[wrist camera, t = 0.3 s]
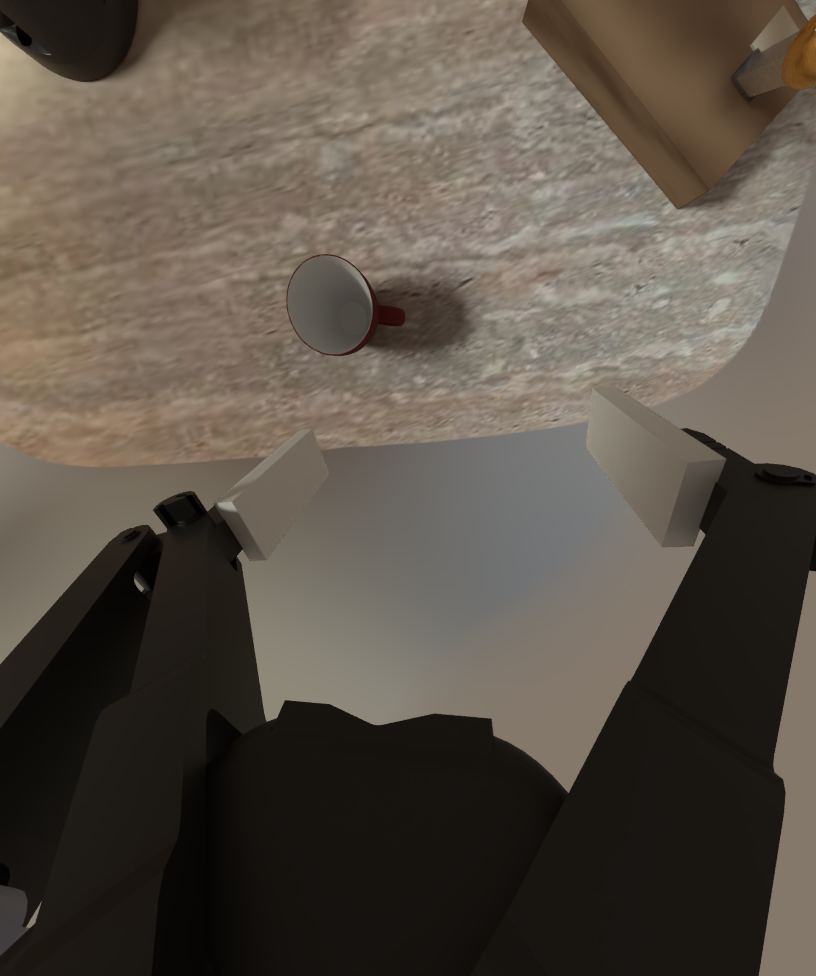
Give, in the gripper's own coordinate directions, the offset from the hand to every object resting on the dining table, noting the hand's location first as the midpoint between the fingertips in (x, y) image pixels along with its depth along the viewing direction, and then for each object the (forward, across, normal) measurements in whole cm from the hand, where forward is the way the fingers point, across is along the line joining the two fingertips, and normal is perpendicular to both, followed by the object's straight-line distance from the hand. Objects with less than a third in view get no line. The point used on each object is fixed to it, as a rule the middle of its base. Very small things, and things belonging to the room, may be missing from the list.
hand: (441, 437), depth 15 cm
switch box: (+33, +20, +20) cm, 43 cm away
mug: (+27, -10, +5) cm, 29 cm away
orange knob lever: (+28, +25, +16) cm, 40 cm away
